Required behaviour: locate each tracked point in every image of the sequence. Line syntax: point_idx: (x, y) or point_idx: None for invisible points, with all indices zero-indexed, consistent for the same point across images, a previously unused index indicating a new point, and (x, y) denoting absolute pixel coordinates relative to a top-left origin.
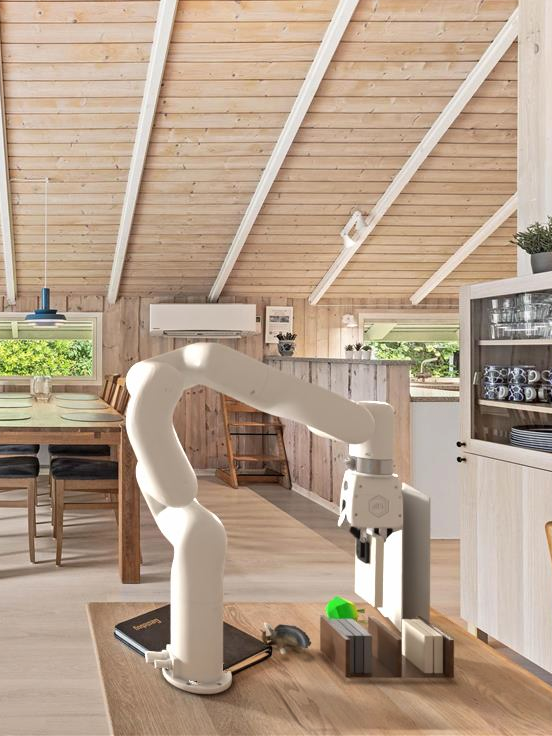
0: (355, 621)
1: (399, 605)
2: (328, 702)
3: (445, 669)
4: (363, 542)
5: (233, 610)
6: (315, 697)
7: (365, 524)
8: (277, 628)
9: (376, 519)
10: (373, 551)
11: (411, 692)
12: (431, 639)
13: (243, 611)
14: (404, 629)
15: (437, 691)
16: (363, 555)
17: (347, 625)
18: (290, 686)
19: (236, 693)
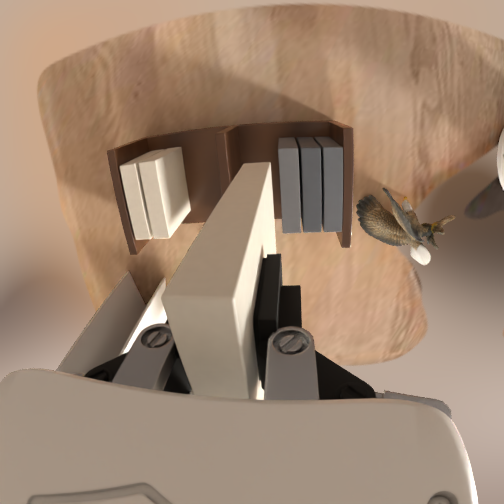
0: (282, 220)
1: (148, 314)
2: (390, 66)
3: (144, 149)
4: (292, 327)
5: (396, 343)
6: (405, 81)
7: (322, 421)
8: (420, 239)
9: (174, 468)
10: (252, 259)
11: (229, 97)
12: (144, 160)
13: (383, 342)
14: (174, 221)
15: (182, 106)
16: (283, 288)
17: (312, 199)
18: (430, 115)
19: (500, 109)
